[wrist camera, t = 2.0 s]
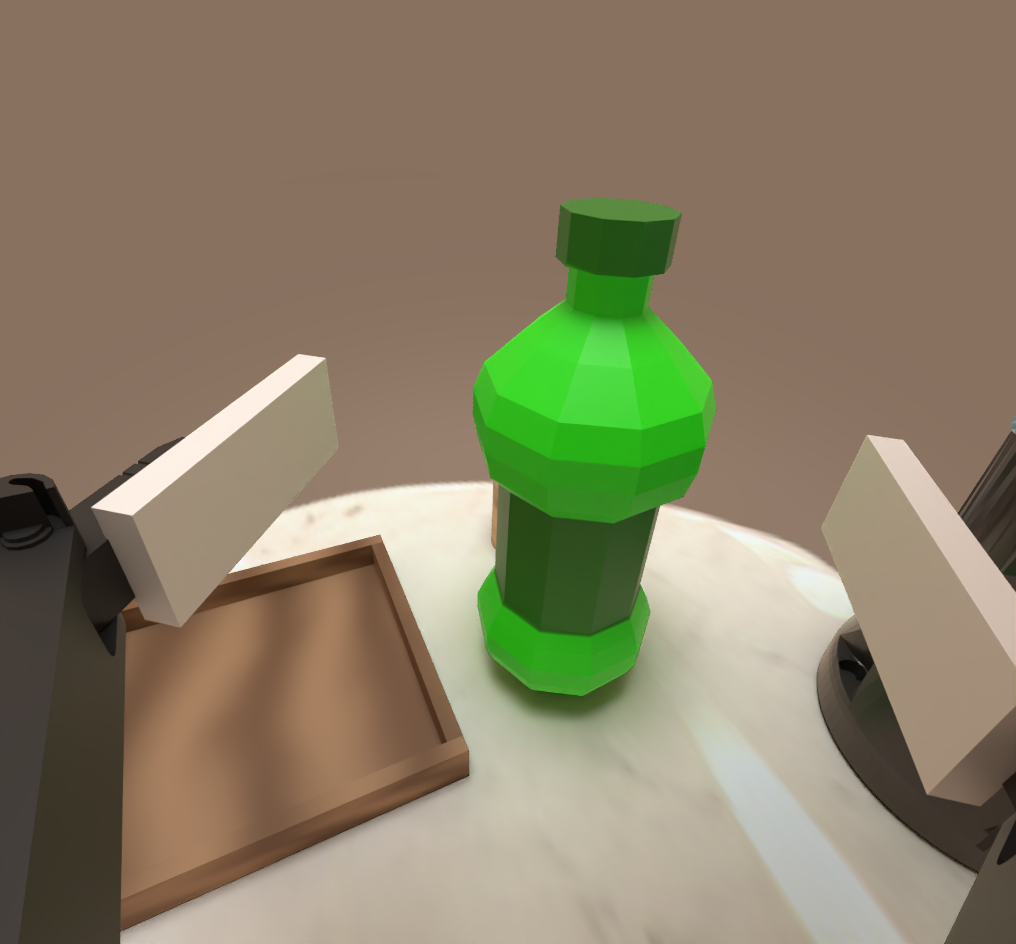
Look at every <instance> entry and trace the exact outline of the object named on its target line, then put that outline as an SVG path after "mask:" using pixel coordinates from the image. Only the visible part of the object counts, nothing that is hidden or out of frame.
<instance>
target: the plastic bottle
mask: <svg viewBox="0 0 1016 944" xmlns="http://www.w3.org/2000/svg"><path fill="white" fill-rule="evenodd" d="M681 214H682V213H681V212H679V211H677V210H674V209H672V208H670V207H668V206H665V205H659V204H653V203H648V202H643V201H637V200H625V199H609V198H592V199H574V200H570V201H568V202H566V203H563V204H561V205H560V215H559V226H558V237H557V249H556V257H557V258H558V259H559V260H560V261H561V262H562V263H563V264H564V265H565V266H566V267H569V274H568V283H567V293H566V299H565V300H563V301H562V302H560V303H559V304H558V305H556V306H555V307H553V308H552V309H550V310H549V311H547V312H546V313H544V314H543V315H541V316H540V317H539V318H538V319H537V320H535V321H534V322H533V323H532V324H530V325H529V326H528V327H527V328H525V329H524V330H523V331H522V332H520V333H519V334H518V335H517V336H516V337H514V338H513V339H512V340H511V341H509V342H508V343H507V344H506V345H505V346H503V347H502V348H501V349H500V350H499V351H497V352H496V353H495V354H494V355H492V356H491V357H490V358H489V359H488V360H486V361H485V362H484V364H483V366H482V369H481V371H480V374H479V376H478V378H477V380H476V383H475V385H474V387H473V417H474V421H475V425H476V430H477V434H478V438H479V442H480V445H481V449H482V452H483V455H484V458H485V461H486V465H487V468H488V471H489V474H490V477H491V479H493V480H494V481H495V482H497V483H498V484H499V486H498V512H497V537H496V562H495V566H494V568H493V569H492V571H491V572H490V574H489V575H488V577H487V578H486V580H485V581H484V583H483V585H482V586H481V588H480V590H479V592H478V611H479V616H480V620H481V625H482V630H483V635H484V639H485V644H486V649H487V651H488V652H489V654H490V655H491V657H492V658H493V659H494V660H495V661H496V662H497V663H499V664H500V665H501V666H502V667H504V668H505V669H506V670H507V671H508V672H510V673H511V674H512V675H513V676H515V677H516V678H517V679H518V680H520V681H521V682H522V683H523V684H524V685H526V686H527V687H528V688H529V689H531V690H537V691H545V692H554V693H562V694H570V695H578V696H584V695H586V694H588V693H590V692H591V691H593V690H595V689H597V688H599V687H601V686H603V685H605V684H606V683H608V682H610V681H612V680H614V679H616V678H618V677H620V676H621V675H623V674H625V673H626V672H627V671H629V670H630V669H631V668H633V667H634V665H635V661H636V658H637V655H638V652H639V648H640V645H641V642H642V638H643V635H644V632H645V629H646V625H647V622H648V618H649V615H650V609H649V605H648V601H647V597H646V595H645V593H644V591H643V589H642V587H641V585H640V582H641V578H642V574H643V570H644V566H645V563H646V559H647V555H648V551H649V547H650V543H651V539H652V535H653V531H654V528H655V524H656V520H657V516H658V512H659V508H660V505H663V504H666V503H668V502H671V501H673V500H676V499H679V498H681V497H684V495H685V493H686V492H687V490H688V488H689V487H690V485H691V483H692V482H693V480H694V478H695V477H696V475H697V473H698V470H699V466H700V463H701V459H702V456H703V453H704V449H705V446H706V442H707V439H708V436H709V432H710V429H711V425H712V421H713V419H714V415H715V412H716V405H715V397H714V389H713V382H712V380H711V379H710V378H709V376H708V375H707V374H706V373H705V371H704V370H703V369H702V368H701V366H700V365H699V364H698V363H697V362H696V360H695V359H694V358H693V356H692V355H691V354H690V353H689V351H688V350H687V349H686V348H685V346H684V345H683V344H682V342H681V341H680V340H679V339H678V338H677V337H676V336H675V335H674V334H673V333H672V332H671V330H670V329H669V328H668V327H667V326H666V325H665V324H664V323H663V322H662V321H661V320H660V319H659V318H658V317H657V315H656V314H655V313H654V312H653V311H652V310H651V309H650V308H649V307H648V306H649V301H650V295H651V290H652V285H653V280H654V275H658V274H664V273H665V272H666V271H667V269H668V268H669V267H670V266H671V263H672V258H673V254H674V249H675V244H676V239H677V234H678V229H679V224H680V219H681Z"/></svg>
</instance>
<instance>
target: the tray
mask: <svg viewBox="0 0 1016 944" xmlns="http://www.w3.org/2000/svg"><path fill="white" fill-rule="evenodd" d="M121 614H122V616H123V618H124V621H125V624H126V656H125V710H124V763H123V816H122V869H121V922H120V931H122V930H124V929H126V928H129V927H131V926H133V925H135V924H138V923H140V922H142V921H144V920H147V919H149V918H151V917H153V916H156V915H158V914H160V913H162V912H164V911H167V910H169V909H171V908H173V907H176V906H178V905H180V904H182V903H185V902H187V901H189V900H191V899H194V898H196V897H198V896H200V895H202V894H205V893H207V892H209V891H211V890H214V889H216V888H218V887H220V886H223V885H225V884H227V883H229V882H232V881H234V880H236V879H238V878H241V877H243V876H245V875H247V874H249V873H252V872H254V871H256V870H258V869H261V868H263V867H265V866H267V865H270V864H272V863H274V862H276V861H279V860H281V859H283V858H285V857H287V856H290V855H292V854H294V853H296V852H299V851H301V850H303V849H305V848H308V847H310V846H312V845H314V844H317V843H319V842H321V841H323V840H326V839H328V838H330V837H332V836H334V835H337V834H339V833H341V832H343V831H346V830H348V829H350V828H352V827H355V826H357V825H359V824H361V823H364V822H366V821H368V820H370V819H372V818H375V817H377V816H379V815H381V814H384V813H386V812H388V811H390V810H393V809H395V808H397V807H399V806H402V805H404V804H406V803H408V802H411V801H413V800H415V799H417V798H419V797H422V796H424V795H426V794H428V793H431V792H433V791H435V790H437V789H440V788H442V787H444V786H446V785H449V784H451V783H453V782H455V781H457V780H460V779H462V778H464V777H466V776H469V750H468V747H467V745H466V742H465V740H464V737H463V735H462V733H461V730H460V728H459V725H458V723H457V720H456V718H455V715H454V713H453V711H452V708H451V706H450V703H449V701H448V698H447V696H446V694H445V691H444V689H443V686H442V684H441V681H440V679H439V677H438V674H437V672H436V669H435V667H434V664H433V662H432V660H431V657H430V655H429V652H428V650H427V647H426V645H425V643H424V640H423V638H422V635H421V633H420V630H419V628H418V626H417V623H416V621H415V618H414V616H413V613H412V611H411V609H410V606H409V604H408V601H407V599H406V596H405V594H404V592H403V589H402V587H401V584H400V582H399V579H398V577H397V574H396V572H395V570H394V567H393V565H392V562H391V560H390V557H389V555H388V553H387V550H386V548H385V545H384V543H383V540H382V538H381V536H380V535H377V536H373V537H369V538H365V539H361V540H357V541H353V542H350V543H346V544H342V545H338V546H334V547H330V548H326V549H323V550H319V551H315V552H311V553H307V554H303V555H299V556H296V557H292V558H288V559H284V560H280V561H276V562H272V563H269V564H265V565H261V566H257V567H253V568H249V569H245V570H242V571H238V572H234V573H230V574H227V575H226V577H225V578H224V579H223V580H222V581H221V582H220V583H219V585H218V586H217V587H216V588H215V589H214V590H213V591H212V593H211V594H210V595H209V596H208V597H207V598H206V599H205V601H204V602H203V603H202V604H201V605H200V606H199V607H198V608H197V610H196V611H195V612H194V613H193V614H192V615H191V616H190V618H189V619H188V620H187V621H186V622H185V623H184V624H183V626H182V627H181V628H180V627H175V626H171V625H166V624H162V623H157V622H153V621H148V620H145V619H144V617H143V615H142V613H141V610H140V608H139V606H138V604H137V602H136V600H135V598H134V599H133V600H132V601H131V602H130V603H129V604H128V605H127V606H126V607H125V608H124V609H123V610H122V611H121Z"/></svg>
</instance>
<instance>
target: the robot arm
mask: <svg viewBox="0 0 1016 944" xmlns="http://www.w3.org/2000/svg"><path fill="white" fill-rule="evenodd" d="M1011 423H1012V427H1011V430H1012V431H1011V432H1010V434H1009V435H1008V437H1007V438H1006V440H1005V441H1004V443H1003V445H1002V446H1001V448H1000V449H999V451H998V452H997V454H996V455H995V457H994V459H993V460H992V461H991V463H990V464H989V466H988V468H987V469H986V471H985V472H984V474H983V475H982V477H981V478H980V480H979V482H978V483H977V484H976V486H975V488H974V489H973V491H972V492H971V494H970V495H969V497H968V498H967V500H966V501H965V503H964V504H963V506H962V507H961V509H960V511H959V512H958V514H957V512H956V511H955V509H954V508H953V507H952V505H951V504H950V503H949V501H948V500H947V499H946V497H945V496H944V495H943V493H942V492H941V491H940V489H939V488H938V486H937V485H936V484H935V482H934V481H933V480H932V478H931V477H930V476H929V474H928V473H927V471H926V470H925V469H924V467H923V466H922V465H921V463H920V462H919V461H918V459H917V458H916V457H915V455H914V454H913V453H912V451H911V450H910V448H909V447H908V446H907V444H906V443H905V442H904V441H903V440H899V439H892V438H885V437H878V436H870V435H867V436H866V438H865V440H864V442H863V444H862V446H861V448H860V450H859V452H858V454H857V456H856V458H855V460H854V462H853V464H852V466H851V468H850V470H849V472H848V474H847V476H846V478H845V480H844V482H843V484H842V486H841V488H840V490H839V492H838V495H837V497H836V499H835V501H834V503H833V505H832V507H831V509H830V511H829V513H828V515H827V517H826V519H825V521H824V523H823V525H822V527H821V529H822V532H823V534H824V537H825V539H826V541H827V544H828V547H829V549H830V552H831V554H832V557H833V559H834V562H835V564H836V567H837V569H838V572H839V575H840V577H841V580H842V582H843V585H844V587H845V590H846V592H847V595H848V597H849V600H850V602H851V605H852V607H853V610H854V612H855V615H854V616H852V617H851V618H850V619H849V620H847V621H846V622H845V623H844V624H843V625H842V627H841V628H840V629H839V630H838V632H837V633H836V635H835V636H834V638H833V639H832V641H831V643H830V645H829V646H828V648H827V650H826V651H825V653H824V655H823V657H822V659H821V662H820V665H819V669H818V677H817V687H818V696H819V701H820V705H821V708H822V712H823V715H824V717H825V720H826V723H827V725H828V727H829V729H830V732H831V733H832V735H833V737H834V739H835V741H836V743H837V745H838V746H839V748H840V750H841V751H842V753H843V754H844V756H845V757H846V759H847V760H848V762H849V763H850V764H851V766H852V767H853V769H854V770H855V771H856V773H857V774H858V775H859V776H860V777H861V779H862V780H863V781H864V782H865V784H866V785H867V786H868V787H869V788H870V789H871V790H872V791H873V792H874V794H875V795H876V796H877V797H878V798H879V799H880V800H881V801H882V802H883V803H884V804H885V805H886V806H887V807H888V808H889V809H890V810H892V811H893V812H894V813H895V814H896V815H897V816H898V817H899V818H900V819H901V820H903V821H904V822H905V823H906V824H907V825H908V826H910V827H911V828H912V829H913V830H915V831H916V832H917V833H918V834H920V835H921V836H922V837H924V838H925V839H926V840H928V841H929V842H931V843H932V844H933V845H935V846H936V847H938V848H939V849H941V850H942V851H944V852H945V853H947V854H948V855H950V856H951V857H953V858H955V859H956V860H958V861H960V862H961V863H963V864H965V865H966V866H968V867H970V868H972V869H974V870H976V871H978V872H979V874H978V876H977V878H976V880H975V882H974V884H973V886H972V888H971V890H970V892H969V894H968V896H967V898H966V900H965V902H964V904H963V906H962V908H961V910H960V912H959V914H958V917H957V919H956V921H955V923H954V925H953V927H952V929H951V931H950V933H949V935H948V937H947V939H946V941H945V943H944V944H1016V415H1015V417H1014V418H1013V420H1012V422H1011ZM337 449H338V440H337V434H336V426H335V419H334V412H333V405H332V398H331V391H330V384H329V378H328V370H327V363H326V358H321V357H314V356H307V355H300V354H298V355H297V356H295V357H294V358H293V359H291V360H290V361H289V362H287V363H286V364H285V365H283V366H282V367H280V368H279V369H278V370H276V371H275V372H274V373H272V374H271V375H270V376H268V377H267V378H266V379H264V380H263V381H262V382H261V383H259V384H257V385H256V386H255V387H253V388H252V389H251V390H250V391H248V392H247V393H245V394H244V395H243V396H241V397H240V398H239V399H237V400H236V401H235V402H233V403H232V404H230V405H229V406H228V407H226V408H225V409H224V410H222V411H221V412H220V413H218V414H217V415H216V416H214V417H213V418H212V419H210V420H209V421H208V422H206V423H205V424H203V425H202V426H201V427H199V428H198V429H197V430H195V431H194V432H193V433H191V434H190V435H188V436H187V437H186V438H185V437H181V438H178V439H176V440H174V441H171V442H169V443H167V444H164V445H162V446H160V447H157V448H156V449H154V450H153V451H152V452H150V453H149V454H148V455H146V456H145V457H143V458H142V459H140V460H139V461H138V464H134V465H132V466H131V467H129V468H128V469H126V470H125V471H124V472H123V475H122V476H121V475H118V476H117V477H115V478H114V479H113V480H111V481H110V482H108V483H107V484H106V485H104V486H103V487H102V488H100V489H99V490H97V491H96V492H94V493H93V494H92V495H90V496H89V497H88V498H86V499H85V500H83V501H82V502H80V503H79V504H78V505H76V506H75V507H74V508H72V509H71V510H68V509H67V506H66V504H65V503H64V501H63V499H62V497H61V495H60V493H59V491H58V489H57V487H56V485H55V483H54V481H53V480H52V479H50V478H49V477H47V476H45V475H40V474H31V473H28V474H18V475H10V476H7V477H3V478H0V944H120V922H121V869H122V816H123V763H124V710H125V656H126V624H125V621H124V618H123V616H122V614H121V611H122V610H123V609H124V608H125V607H126V606H127V605H128V604H129V603H130V602H131V601H132V600H133V599H134V598H135V600H136V602H137V604H138V606H139V608H140V610H141V613H142V615H143V617H144V619H145V620H148V621H153V622H157V623H162V624H166V625H171V626H175V627H180V628H181V627H182V626H183V624H184V623H185V622H186V621H187V620H188V619H189V618H190V616H191V615H192V614H193V613H194V612H195V611H196V610H197V608H198V607H199V606H200V605H201V604H202V603H203V602H204V601H205V599H206V598H207V597H208V596H209V595H210V594H211V593H212V591H213V590H214V589H215V588H216V587H217V586H218V585H219V583H220V582H221V581H222V580H223V579H224V578H225V577H226V575H227V574H228V573H229V572H230V571H231V570H232V569H233V568H234V566H235V565H236V564H237V563H238V562H239V561H240V560H241V558H242V557H243V556H244V555H245V554H246V553H247V552H248V550H249V549H250V548H251V547H252V546H253V545H254V544H255V543H256V541H257V540H258V539H259V538H260V537H261V536H262V535H263V533H264V532H265V531H266V530H267V529H268V528H269V527H270V525H271V524H272V523H273V522H274V521H275V520H276V519H277V518H278V516H279V515H280V514H281V513H282V512H283V511H284V510H285V508H286V507H287V506H288V505H289V504H290V503H291V502H292V500H293V499H294V498H295V497H296V496H297V495H298V494H299V493H300V491H301V490H302V489H303V488H304V487H305V485H307V483H308V482H309V481H310V480H311V479H312V478H313V477H314V475H315V474H316V473H317V472H318V471H319V470H320V469H321V467H322V466H323V465H324V464H325V463H326V462H327V461H328V460H329V458H330V457H331V456H332V455H333V454H334V453H335V452H336V450H337Z"/></svg>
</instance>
